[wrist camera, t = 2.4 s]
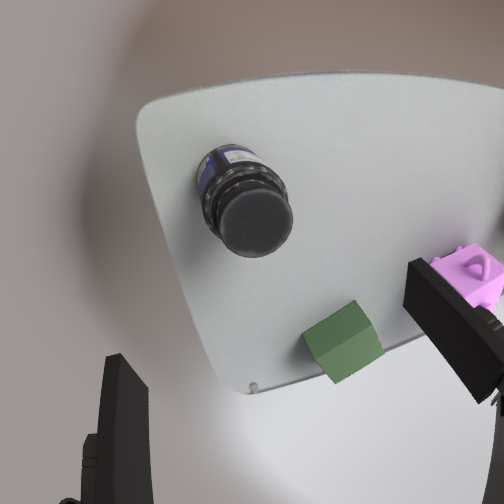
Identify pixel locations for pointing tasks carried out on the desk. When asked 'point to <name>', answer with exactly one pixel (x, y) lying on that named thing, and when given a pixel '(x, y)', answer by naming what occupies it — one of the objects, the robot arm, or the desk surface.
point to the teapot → (473, 275)
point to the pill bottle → (244, 201)
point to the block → (344, 342)
